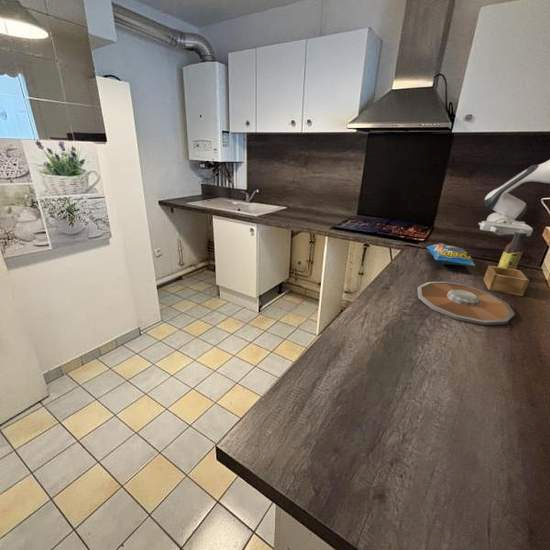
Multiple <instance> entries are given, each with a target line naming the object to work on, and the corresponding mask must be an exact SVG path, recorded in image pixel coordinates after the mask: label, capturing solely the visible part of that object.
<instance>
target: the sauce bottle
mask: <svg viewBox="0 0 550 550" xmlns="http://www.w3.org/2000/svg"><path fill="white" fill-rule="evenodd" d="M526 235H527V233H526V232H521V231H515V233H514V235H513V237H512V239H511V241H510V242H509V243H507V245H505V248H504V250H503V252H502V254H501V257H500V260H499V262H498V264H497V267H501V268H508V269H514V270H517V266H518V264H519V262H520V259H521V258H522V255H523V252H524V251H523V250H524V247H523V246H524V244H523V243H524V241H525V238H526V237H527V236H526Z"/></svg>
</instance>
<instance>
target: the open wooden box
mask: <svg viewBox="0 0 550 550" xmlns="http://www.w3.org/2000/svg"><path fill="white" fill-rule="evenodd" d="M483 282H484V284H485V285H486V288H487V289H488V290H489V291H493V292H499V293H503V294H509V295H513V296H518V297H519V296H520V297H523V296H524V294H525V292H526V290H527V287H528V285H529V282H530V279H529V278H528V277H527V276H526V275H525V274H524V273H523V272H522V270H519V269H515V270H514V269H508V268H501V267H498V266H494V265H488V266H487V269H486V271H485V274H484V277H483Z"/></svg>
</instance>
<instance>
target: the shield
mask: <svg viewBox="0 0 550 550" xmlns="http://www.w3.org/2000/svg"><path fill="white" fill-rule="evenodd" d="M416 291H417V298H418V300H420V301H421V302H422V303H423V304H424V305H426V306H427V307H428V308H429V309H430V310H432V311H434V312H437V313H438V314H442V315H444V316H446V317H448V318H450V319H452V320H456V321H459V322H464V323H470V324H474V325H479V326H485V327H486V326H502V325H507V324H508V323H509V322H510V321H511V320H512V319H513V318H514V317H515V315H516V313H515V312H514V310H513V309H512V307H511V306H510V305H509V302H506V301H504V300H503V299H501V298H500V297H498V296H496V295H495V294H493V293H491V292H488V291H485V290H483V289H480V288H477V287H474V286H470V285H468V284H462V283H456V282H452V281H451V282H450V281H427V282H425V283H423V284H421V285H419V286H417V290H416Z"/></svg>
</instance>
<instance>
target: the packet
mask: <svg viewBox="0 0 550 550" xmlns="http://www.w3.org/2000/svg"><path fill="white" fill-rule="evenodd" d="M426 250H427V252H428V253H429V254H430V255H432V256H433V258H434V260H435V263H436V264H441V265H442V266H464V267H465V266H466V267H474V266H476V263H474V262H473V259H472V257H471V255H470V254H469V253H468V252H467V251H466V250H465V249H464V248H461V247H457V246H453V245H448V244H445V243H443V242H440V243H435V244H432V245H429V246H426Z"/></svg>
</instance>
